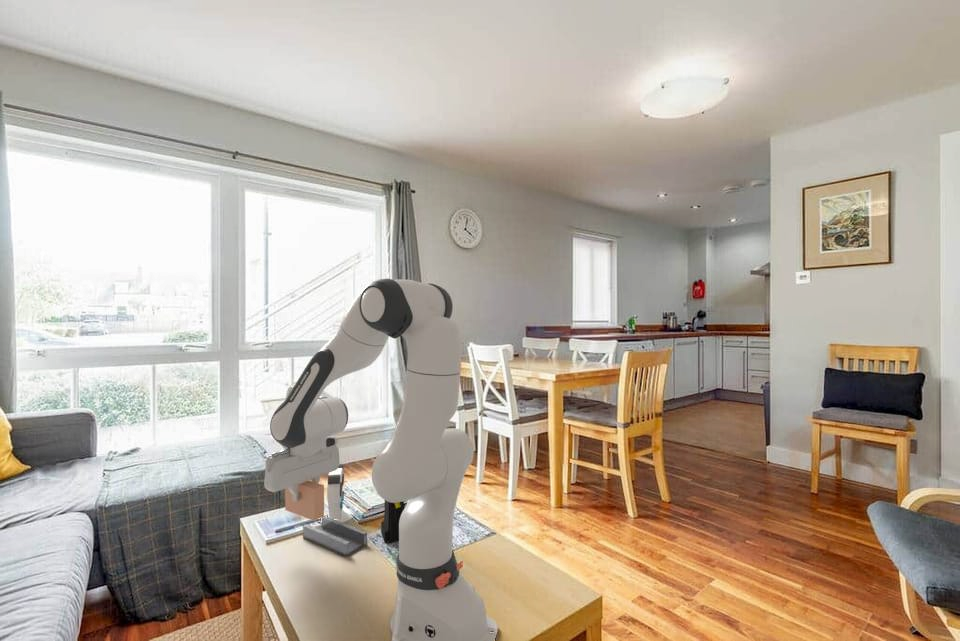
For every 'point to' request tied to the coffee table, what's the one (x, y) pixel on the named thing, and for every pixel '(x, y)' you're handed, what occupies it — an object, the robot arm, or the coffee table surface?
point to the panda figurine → (337, 496)
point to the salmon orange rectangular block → (307, 500)
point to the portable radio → (391, 521)
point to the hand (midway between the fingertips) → (304, 497)
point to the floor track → (336, 536)
